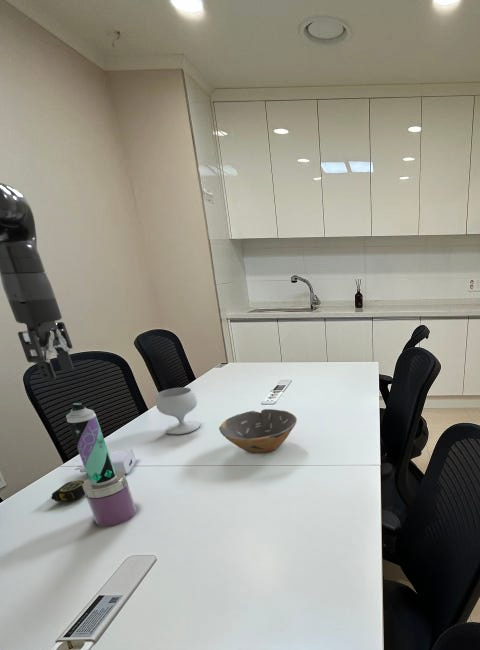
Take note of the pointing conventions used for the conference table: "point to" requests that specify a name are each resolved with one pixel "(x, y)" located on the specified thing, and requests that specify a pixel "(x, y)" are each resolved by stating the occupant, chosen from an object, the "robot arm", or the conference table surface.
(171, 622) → the conference table surface
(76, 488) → the tape measure
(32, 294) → the robot arm
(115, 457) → the charger
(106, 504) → the jar
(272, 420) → the bowl
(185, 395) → the chalice
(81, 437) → the spray can
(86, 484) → the jar lid
